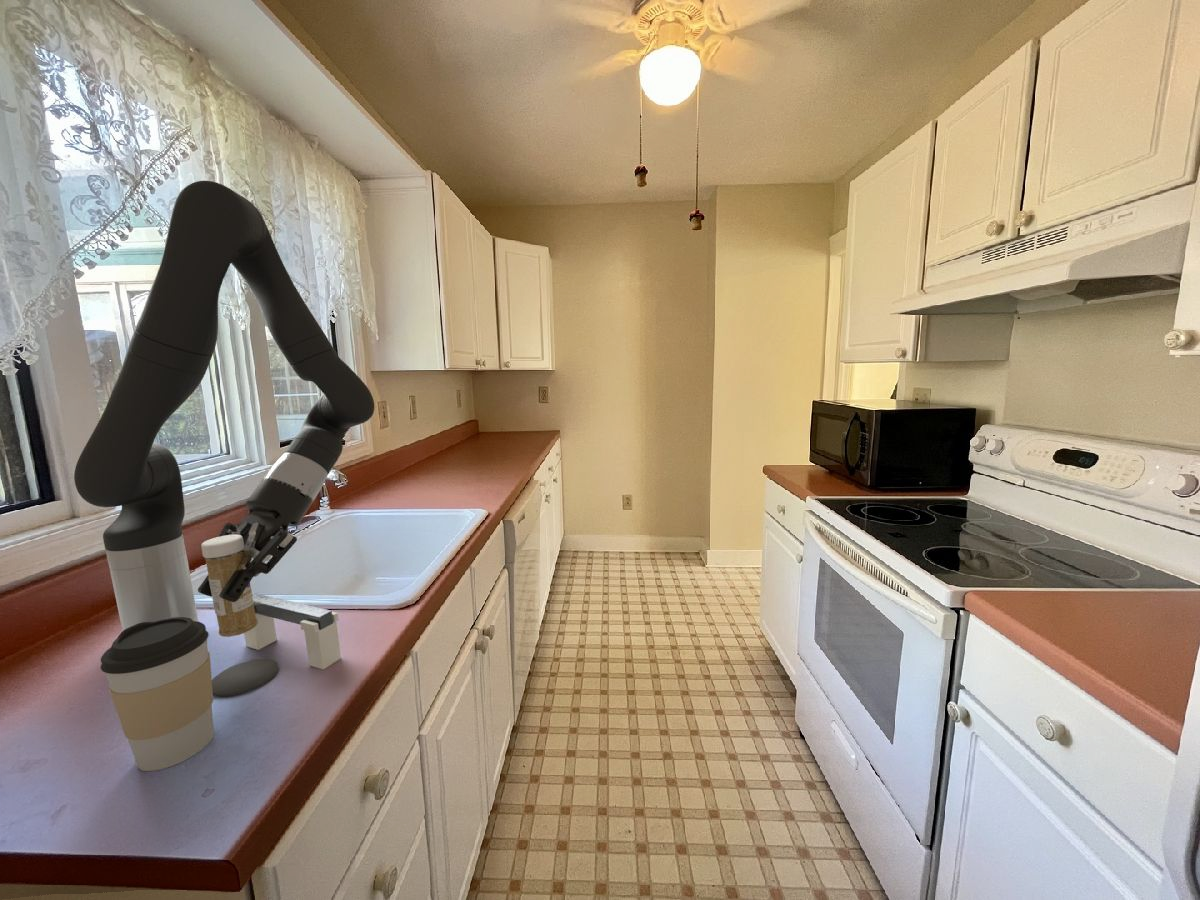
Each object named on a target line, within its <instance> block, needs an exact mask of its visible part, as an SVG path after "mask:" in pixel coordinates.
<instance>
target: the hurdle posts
mask: <svg viewBox="0 0 1200 900" xmlns="http://www.w3.org/2000/svg"><path fill="white" fill-rule="evenodd" d="M338 614H339V613H338V612H335V611H332V617H333V624H331V625H329V626H327V627H326V628H324V629H322V630H319V627H318V623H315V622H311V621H307V620H303V621H301V622H300V624H301V625H300V624H299V625H300V629H301V630H302V631H303V632H304V639H305V645H306V651H307V658H308V664H309V665H308V666H310V667H313V668H316V669H319V670H325V669H327V668H328V667H329V666H331V665H333V664H335V663H336V662H338V661H340V660H341V659H342V654H341V647H340V641H339V639H340V638H339V632H338V626H337V625H338V624H337V622H338V621H339V615H338ZM255 615H256V619H257V620H258V624H257V625H256V626H255V627H254V628H253V629H251V630H249V631H247V632H245V633H243V634H244V641H245V645H246V647H247V648H250V649H254V650H257V651H258V650H261V649H263V648H265V647H267V646H268V645H270V644H272V643H274V642H276V641H278V638H277V637H278V636H277V633H276V632H277V630H276V624H275V618H272V617H268V616H265V615H261V614H257V613H255Z"/></svg>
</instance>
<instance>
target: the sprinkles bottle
mask: <svg viewBox="0 0 1200 900" xmlns="http://www.w3.org/2000/svg"><path fill="white" fill-rule="evenodd" d="M200 547H201V553H202V557H204V561H205V565H206V569H207V573H208V574H207V575H209V584H210V589H211V594H212V597H211V598H212V603H213V610H214V613H215V615H216V618H217V619H216V620H217V625H218V635H219V636H221V637H224V638H225V637H226V638H229V637H230V638H231V637H235V636H236V637H237V636H240V635H243V634H244V633H245V632H247V631H249V630H251V629H253V628H254V627H255V626H256V625H257V624H258V620H257V619H256V615H255V610H254V605H253V596H252V594H253V593H252V592H253V591H252V585H251V582H250V583H249V584H248V586H247V587H246V589H245V590H244V592H243V593H242V595H241V596H240V597H239V599H238V600H237V601H236V602H231V601H228V600H225V599H222V598H220V596H219V595H220V593H221V591H222V590H223V588H224V587H225V585H226V584H227V582H228V581H229V579H230V578H231V577H232V575H233V574H234V572H235V571H236V570H237V571H240V570H239V569H238V567H239V565H240V563H241V561H242V558H243V556H244V555H243V553H242V550H243V548H244V541H243V537H242V536H241V535H225V536H220V537H219V536H217V537H212V538H210V539H207V540H204V541H203V542H202V543H201V546H200Z"/></svg>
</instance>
